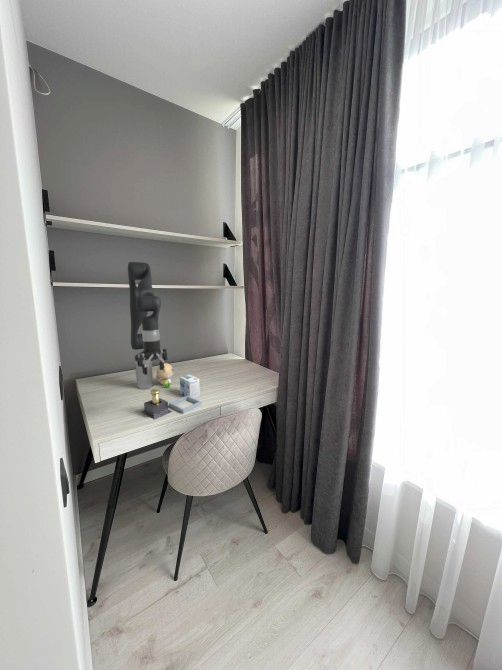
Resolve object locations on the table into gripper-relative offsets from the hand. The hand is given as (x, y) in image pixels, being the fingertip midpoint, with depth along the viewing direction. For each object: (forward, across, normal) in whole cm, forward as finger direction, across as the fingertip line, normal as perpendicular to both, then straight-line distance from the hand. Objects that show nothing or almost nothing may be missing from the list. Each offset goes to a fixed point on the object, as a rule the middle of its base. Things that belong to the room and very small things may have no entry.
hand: (153, 372), depth 130 cm
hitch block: (+22, 0, 0) cm, 22 cm away
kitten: (+22, -25, -29) cm, 44 cm away
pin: (+21, 0, 0) cm, 21 cm away
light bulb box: (+22, -24, -4) cm, 33 cm away
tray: (+22, -13, +6) cm, 26 cm away
